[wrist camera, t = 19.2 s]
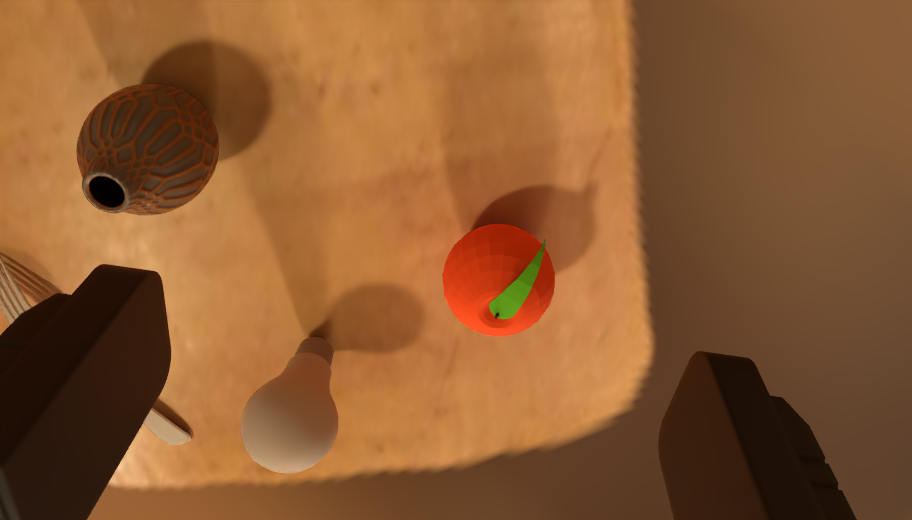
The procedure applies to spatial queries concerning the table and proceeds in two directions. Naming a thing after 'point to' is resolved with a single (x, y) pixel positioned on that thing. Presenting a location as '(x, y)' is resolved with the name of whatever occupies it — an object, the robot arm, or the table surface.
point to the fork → (154, 419)
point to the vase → (146, 150)
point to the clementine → (498, 280)
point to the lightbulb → (293, 413)
